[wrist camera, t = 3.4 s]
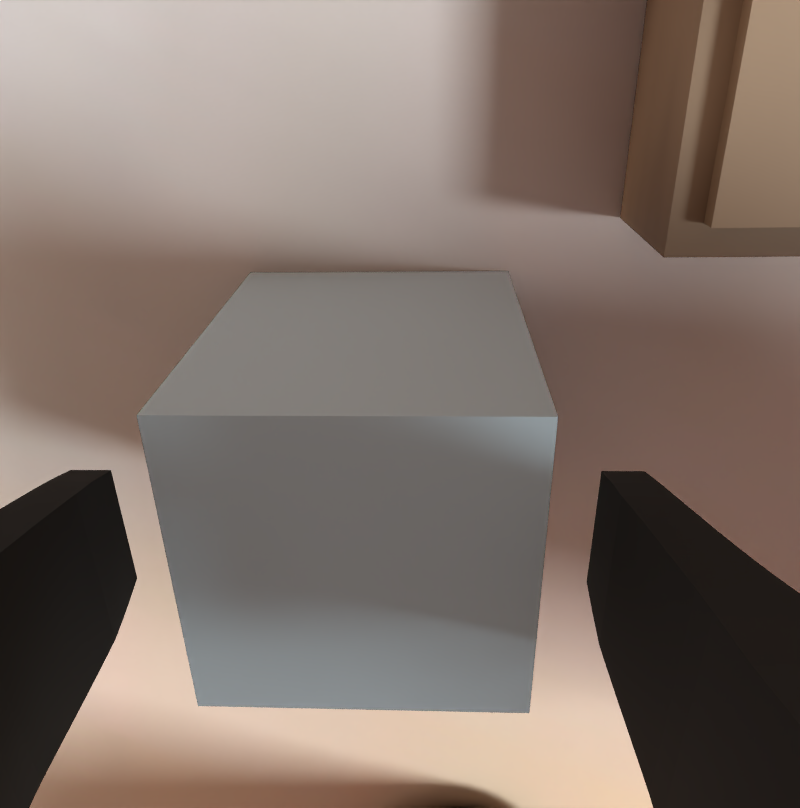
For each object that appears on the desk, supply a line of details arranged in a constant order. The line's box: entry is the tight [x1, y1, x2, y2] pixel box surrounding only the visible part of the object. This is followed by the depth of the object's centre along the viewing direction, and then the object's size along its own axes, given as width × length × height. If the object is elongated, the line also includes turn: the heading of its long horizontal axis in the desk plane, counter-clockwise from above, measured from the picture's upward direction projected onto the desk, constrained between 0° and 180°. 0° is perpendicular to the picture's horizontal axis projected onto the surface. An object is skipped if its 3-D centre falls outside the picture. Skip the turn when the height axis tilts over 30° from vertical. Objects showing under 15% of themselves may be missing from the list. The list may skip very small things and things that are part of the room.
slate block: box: [137, 271, 558, 713], centre depth 12 cm, size 5×5×6 cm
